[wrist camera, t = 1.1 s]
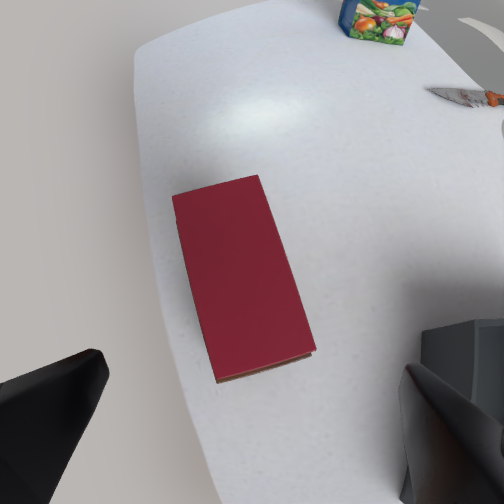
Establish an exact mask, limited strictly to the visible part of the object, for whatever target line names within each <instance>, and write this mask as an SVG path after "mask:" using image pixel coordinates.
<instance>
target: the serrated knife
mask: <svg viewBox="0 0 504 504" xmlns="http://www.w3.org/2000/svg"><path fill="white" fill-rule="evenodd" d="M429 90H431V91H432V92H434V93H436V94H438V95H441V96H443V97H445V98H447V99H449V100H452V101H454V102H457V103H460V104H463V105H466V106H469V107H472V106H471V104H470V103H469V102H468V99H470V100H471V101H472V102H473V103H474V104H475V105H476V106H477V107H479V106H478V105H477V104H476V103H475V101H474V100H477V101H478V102H479V103H480V104H481V105H482V106H483V104H482V103H481V100H482V101H483V102H484V103H485V104H486V105H487V106H488V104H489V105H490V106H493V107H495V106H497V105H504V95H500V94H496V93H493V92H491V91H486V90H485V91H484V92H480V91H473V90H465V89H454V88H437V89H429ZM487 103H488V104H487ZM472 108H473V107H472Z"/></svg>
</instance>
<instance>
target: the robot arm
mask: <svg viewBox="0 0 504 504" xmlns="http://www.w3.org/2000/svg"><path fill="white" fill-rule="evenodd" d="M108 378H109V368H108V366H107V363H106V361H105V358H104V355H103V353H102V352H101V351H100V350H96V349H87V350H85V351H82V352H80V353H77V354H75V355H72V356H70V357H67V358H65V359H62V360H60V361H57V362H55V363H52V364H50V365H47V366H45V367H42V368H39V369H37V370H34V371H32V372H29V373H26V374H24V375H21V376H19V377H16V378H14V379H11V380H8V381H6V382H4V383H0V504H49V502H50V500H51V498H52V496H53V494H54V491H55V489H56V487H57V485H58V483H59V481H60V479H61V476H62V474H63V472H64V470H65V468H66V466H67V464H68V462H69V460H70V458H71V456H72V454H73V452H74V450H75V448H76V446H77V444H78V442H79V440H80V438H81V437H82V434H83V433H84V431H85V429H86V427H87V425H88V423H89V421H90V419H91V417H92V415H93V413H94V411H95V409H96V407H97V404H98V402H99V399H100V397H101V394H102V392H103V390H104V387H105V385H106V383H107V380H108ZM399 400H400V408H401V417H402V428H403V438H404V444H405V450H406V454H407V460H408V465H409V470H410V476H411V481H412V487H413V494H414V500H415V504H504V428H503V425H501V424H500V423H499V422H497V421H496V420H495V419H494V418H492V417H491V416H490V415H488V414H487V413H486V412H484V411H483V410H482V409H480V408H479V407H478V406H477V405H475V404H474V403H473V402H471V401H470V400H469V399H467V398H466V397H465V396H463V395H462V394H461V393H459V392H458V391H457V390H455V389H454V388H453V387H451V386H450V385H449V384H447V383H446V382H445V381H444V380H442V379H441V378H440V377H438V376H437V375H436V374H434V373H433V372H432V371H430V370H429V369H428V368H426V367H425V366H424V365H422V364H421V363H412V364H407V365H406V366H405V367H404V370H403V374H402V378H401V382H400V386H399Z"/></svg>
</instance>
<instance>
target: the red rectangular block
mask: <svg viewBox="0 0 504 504" xmlns="http://www.w3.org/2000/svg"><path fill="white" fill-rule="evenodd" d="M172 201H173V206H174V211H175V216H176V221H177V226H178V230H179V235H180V240H181V244H182V249H183V253H184V258H185V262H186V267H187V271H188V275H189V280H190V284H191V288H192V292H193V296H194V300H195V304H196V308H197V312H198V316H199V320H200V324H201V327H202V331H203V335H204V338H205V342H206V346H207V349H208V353H209V356H210V360H211V363H212V367H213V370H214V374H215V377H216V379H217V380H218V379H222V378H226V377H230V376H234V375H238V374H242V373H245V372H249V371H252V370H256V369H259V368H263V367H266V366H270V365H273V364H276V363H280V362H283V361H286V360H289V359H292V358H295V357H298V356H301V355H304V354H307V353H310V352H313V351H316V345H315V342H314V339H313V336H312V333H311V330H310V326H309V323H308V320H307V317H306V314H305V311H304V308H303V305H302V302H301V298H300V295H299V292H298V289H297V286H296V283H295V280H294V277H293V274H292V271H291V268H290V265H289V262H288V259H287V256H286V253H285V250H284V247H283V245H282V242H281V239H280V236H279V233H278V230H277V227H276V224H275V221H274V218H273V216H272V213H271V210H270V207H269V204H268V201H267V199H266V196H265V193H264V190H263V187H262V185H261V182H260V179H259V176H258V175H253V176H249V177H244V178H240V179H236V180H232V181H228V182H224V183H220V184H216V185H212V186H208V187H204V188H200V189H196V190H192V191H189V192H185V193H181V194H178V195H174V196H172Z"/></svg>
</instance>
